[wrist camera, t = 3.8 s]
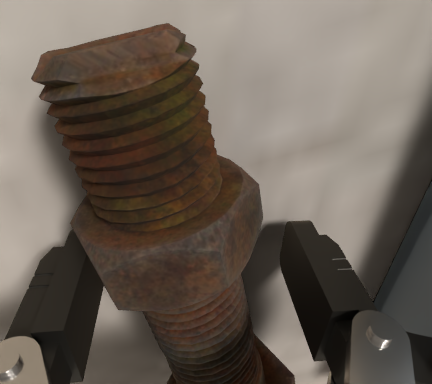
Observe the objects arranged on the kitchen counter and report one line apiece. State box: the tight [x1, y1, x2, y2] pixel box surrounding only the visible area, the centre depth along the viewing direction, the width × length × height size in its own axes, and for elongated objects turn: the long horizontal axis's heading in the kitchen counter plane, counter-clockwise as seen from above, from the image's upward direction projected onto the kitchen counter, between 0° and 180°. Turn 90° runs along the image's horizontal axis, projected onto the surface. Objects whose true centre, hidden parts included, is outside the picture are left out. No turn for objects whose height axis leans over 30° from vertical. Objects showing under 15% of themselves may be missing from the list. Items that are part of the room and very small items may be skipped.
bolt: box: [31, 23, 295, 384], centre depth 10 cm, size 6×5×15 cm
